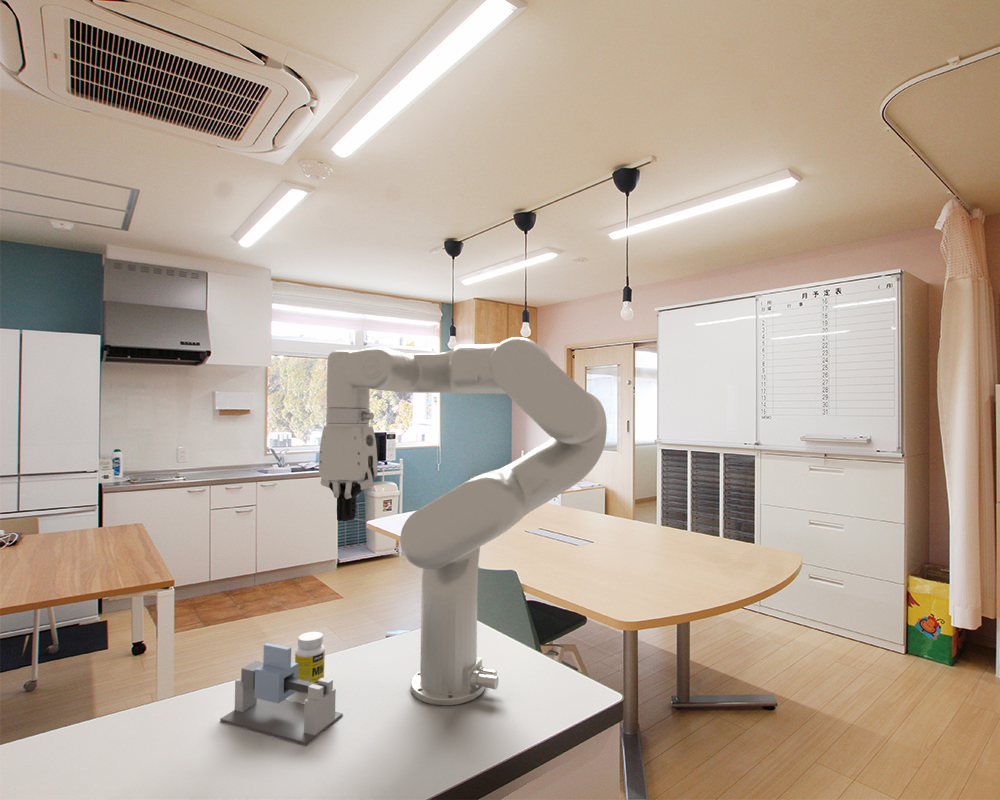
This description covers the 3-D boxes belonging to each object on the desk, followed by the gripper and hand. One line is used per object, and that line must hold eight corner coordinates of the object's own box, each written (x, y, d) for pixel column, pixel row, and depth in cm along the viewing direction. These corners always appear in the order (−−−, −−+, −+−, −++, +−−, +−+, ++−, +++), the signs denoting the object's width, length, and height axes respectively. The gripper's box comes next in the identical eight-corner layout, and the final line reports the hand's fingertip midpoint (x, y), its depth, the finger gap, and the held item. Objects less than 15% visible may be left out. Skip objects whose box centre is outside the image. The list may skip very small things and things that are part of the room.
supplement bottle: (314, 694, 88) (315, 642, 89) (288, 691, 89) (289, 640, 90) (329, 681, 93) (330, 631, 93) (304, 678, 94) (305, 629, 94)
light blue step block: (297, 690, 83) (298, 643, 83) (278, 703, 79) (279, 653, 79) (274, 685, 85) (275, 638, 85) (254, 697, 81) (255, 649, 81)
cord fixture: (342, 716, 82) (343, 670, 82) (306, 745, 75) (307, 694, 75) (261, 695, 88) (262, 652, 88) (220, 721, 80) (221, 674, 81)
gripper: (394, 418, 99) (392, 519, 98) (327, 418, 104) (326, 513, 104) (370, 418, 92) (368, 526, 91) (300, 418, 97) (298, 520, 97)
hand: (346, 519), depth 98 cm, fingers closed
